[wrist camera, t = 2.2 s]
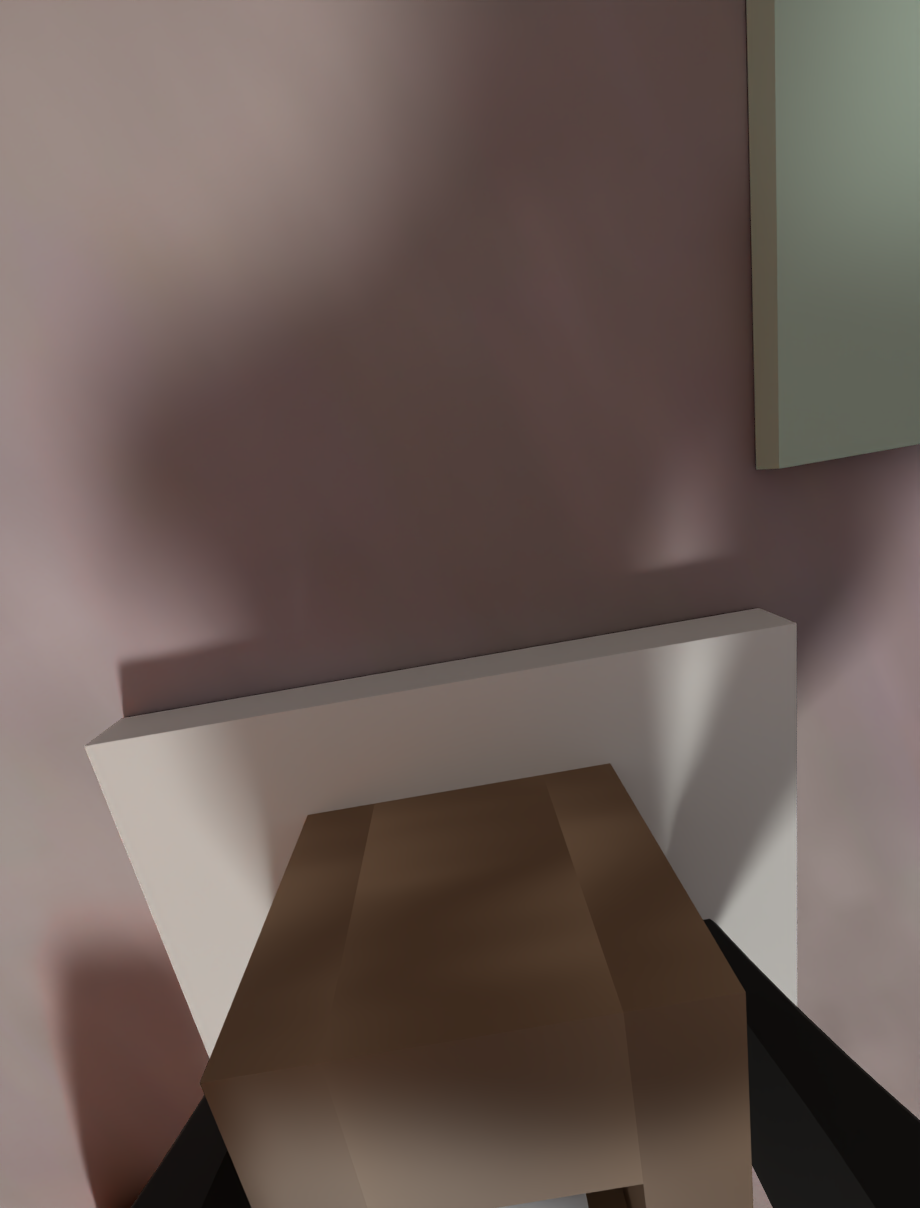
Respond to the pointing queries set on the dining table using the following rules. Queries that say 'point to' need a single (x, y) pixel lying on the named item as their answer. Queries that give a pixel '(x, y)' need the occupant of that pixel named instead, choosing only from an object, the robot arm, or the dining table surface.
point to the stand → (472, 778)
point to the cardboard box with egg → (486, 1013)
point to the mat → (834, 226)
